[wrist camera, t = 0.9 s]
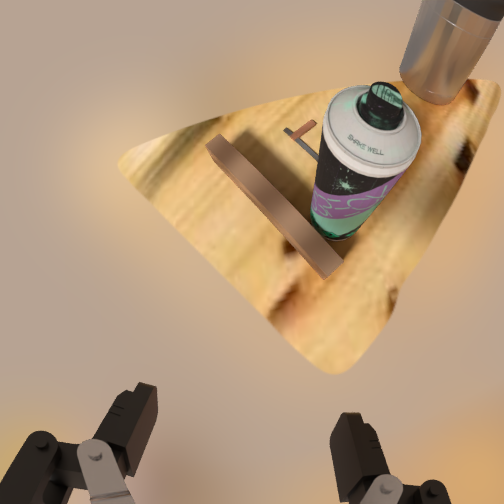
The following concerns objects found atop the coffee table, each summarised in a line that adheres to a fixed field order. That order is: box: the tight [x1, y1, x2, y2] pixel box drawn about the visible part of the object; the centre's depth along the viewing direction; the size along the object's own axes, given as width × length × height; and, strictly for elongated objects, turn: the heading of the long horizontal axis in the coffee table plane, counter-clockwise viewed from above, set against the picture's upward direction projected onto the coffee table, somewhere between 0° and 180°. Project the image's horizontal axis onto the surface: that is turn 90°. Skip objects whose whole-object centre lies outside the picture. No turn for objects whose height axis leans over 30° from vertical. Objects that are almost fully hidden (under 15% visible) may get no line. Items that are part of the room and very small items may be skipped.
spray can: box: [310, 82, 421, 241], centre depth 21 cm, size 6×6×20 cm
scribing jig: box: [205, 120, 344, 280], centre depth 30 cm, size 18×12×4 cm, turn 40°
